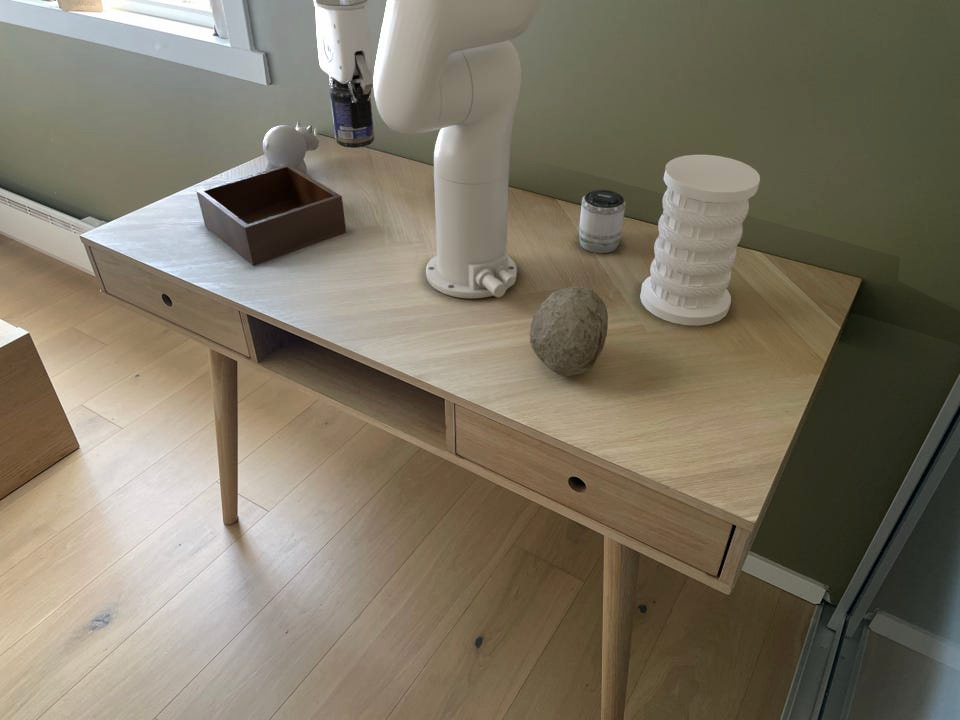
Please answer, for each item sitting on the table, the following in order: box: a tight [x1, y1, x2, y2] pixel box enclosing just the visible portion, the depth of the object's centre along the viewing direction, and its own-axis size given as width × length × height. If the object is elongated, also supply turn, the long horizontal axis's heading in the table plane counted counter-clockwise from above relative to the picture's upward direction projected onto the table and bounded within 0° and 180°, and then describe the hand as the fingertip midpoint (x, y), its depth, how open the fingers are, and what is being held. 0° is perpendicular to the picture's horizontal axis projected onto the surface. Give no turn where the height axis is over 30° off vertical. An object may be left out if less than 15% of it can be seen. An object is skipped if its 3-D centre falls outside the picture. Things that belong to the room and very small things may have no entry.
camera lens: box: [578, 189, 627, 254], centre depth 105 cm, size 6×6×8 cm
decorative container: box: [639, 154, 761, 327], centre depth 90 cm, size 12×12×18 cm
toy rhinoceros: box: [262, 121, 320, 174], centre depth 126 cm, size 7×12×8 cm, turn 148°
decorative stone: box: [529, 285, 609, 377], centre depth 81 cm, size 10×8×10 cm
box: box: [195, 164, 347, 266], centre depth 108 cm, size 16×16×6 cm
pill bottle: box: [329, 75, 375, 149], centre depth 110 cm, size 6×6×11 cm
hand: (352, 119), depth 112 cm, fingers closed on pill bottle, 6 cm apart
